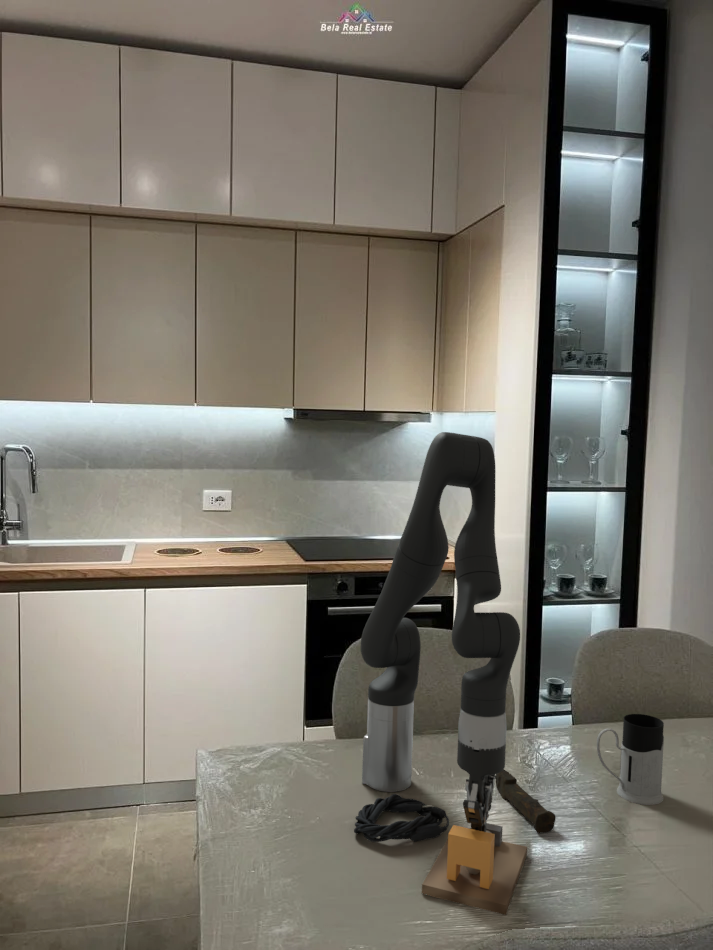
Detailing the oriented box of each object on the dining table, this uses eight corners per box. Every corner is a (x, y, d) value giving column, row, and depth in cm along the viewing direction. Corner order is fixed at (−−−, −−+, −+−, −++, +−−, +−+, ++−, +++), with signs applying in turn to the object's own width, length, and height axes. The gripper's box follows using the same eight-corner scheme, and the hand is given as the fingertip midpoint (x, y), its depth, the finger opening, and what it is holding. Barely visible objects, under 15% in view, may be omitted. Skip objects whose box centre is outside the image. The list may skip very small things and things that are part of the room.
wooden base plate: (421, 893, 122) (422, 867, 122) (452, 838, 139) (452, 815, 138) (505, 915, 117) (507, 888, 117) (526, 855, 134) (527, 831, 134)
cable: (369, 857, 133) (370, 831, 132) (335, 818, 145) (336, 795, 145) (456, 837, 140) (457, 813, 140) (417, 802, 153) (418, 780, 152)
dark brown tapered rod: (556, 833, 142) (557, 808, 142) (535, 835, 141) (537, 810, 141) (508, 786, 160) (510, 764, 160) (490, 788, 159) (491, 765, 159)
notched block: (446, 878, 123) (448, 833, 123) (451, 869, 126) (453, 825, 125) (488, 889, 121) (490, 843, 120) (492, 878, 123) (494, 834, 123)
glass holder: (672, 803, 155) (676, 727, 154) (606, 808, 152) (609, 731, 151) (647, 783, 163) (650, 711, 162) (583, 787, 160) (587, 715, 159)
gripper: (468, 719, 133) (464, 819, 134) (448, 748, 121) (444, 858, 122) (513, 726, 130) (509, 829, 131) (497, 757, 118) (492, 869, 119)
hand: (477, 843), depth 127 cm, fingers closed
